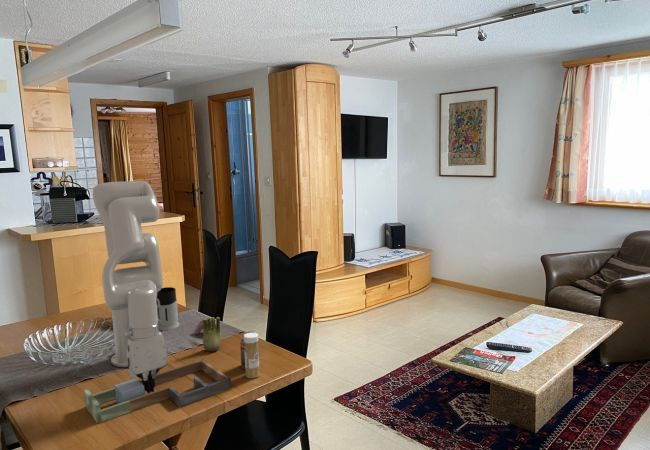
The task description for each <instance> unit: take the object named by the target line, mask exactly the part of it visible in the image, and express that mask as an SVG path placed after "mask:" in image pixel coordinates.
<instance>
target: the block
mask: <svg viewBox="0 0 650 450" xmlns="http://www.w3.org/2000/svg"><path fill="white" fill-rule="evenodd" d="M138 380H139V379H137V378H134V379H130V380H128V381H127V380H126V381H124V382H121V383H118V384H115V385H114V388H115V393H116V399H115V401H116V403H117V404H119V403H122V402H125V401H128V400H131V399H133V398H136V397H139V396H142V395H145V394H146V393H145V392H146V391H145V390H144V385H143V384H141V383H140V382H139V381H138Z"/></svg>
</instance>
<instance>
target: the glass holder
mask: <svg viewBox="0 0 650 450" xmlns="http://www.w3.org/2000/svg"><path fill="white" fill-rule="evenodd" d="M176 291H177V290H176V288H175V287H172V286H167V287H162V288H161V290H159V291H158V292H157V297H156V304H157V317H158V330H159V331H168V330H174V329H177V328H179V326H180V322H179V316H178V315H179V314H178V303H177V302H178V300H177V293H176Z"/></svg>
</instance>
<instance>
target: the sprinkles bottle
mask: <svg viewBox="0 0 650 450" xmlns="http://www.w3.org/2000/svg"><path fill="white" fill-rule="evenodd" d="M242 339H244V349H245V350H244V354H245V369H244V370H245V377H246V378H247V379H256V378H258V377H259V376H260V374H261V372H260V352H259V353H258V341H259V334H258V333H256V332H255V333H247V334H245V335H244V336H243V335H242Z"/></svg>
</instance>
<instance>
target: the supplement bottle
mask: <svg viewBox="0 0 650 450" xmlns="http://www.w3.org/2000/svg"><path fill="white" fill-rule="evenodd" d="M247 333H256V332H255V331H252V330H251V331H250V330H249V331H248V330H247V331H245V332H243V333H242V337H243V336H244V335H245V334H247ZM239 344H240V345H239V346H240V367H241V369H244V370H245V354H244V350H245V349H244V339H243V338H242V339H241V340H240V343H239ZM258 353H259V354H260V341H259V340H258Z"/></svg>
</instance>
